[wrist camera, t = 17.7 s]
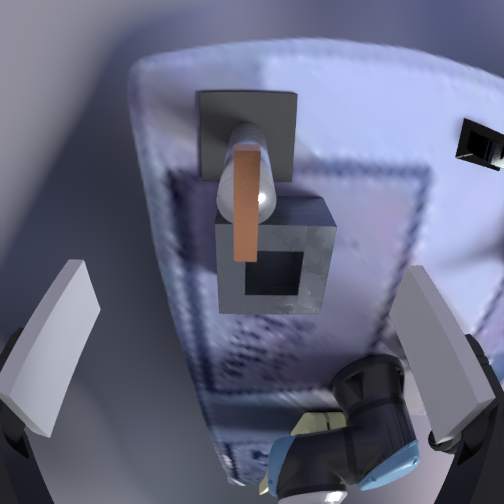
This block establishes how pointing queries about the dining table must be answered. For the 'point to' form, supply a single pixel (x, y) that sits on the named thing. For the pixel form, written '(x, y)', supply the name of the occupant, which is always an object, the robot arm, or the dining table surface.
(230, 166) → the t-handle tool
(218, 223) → the block
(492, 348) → the dining table surface
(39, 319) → the robot arm
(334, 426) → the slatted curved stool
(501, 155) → the black notched block
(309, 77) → the dining table surface
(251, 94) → the rubber mat
